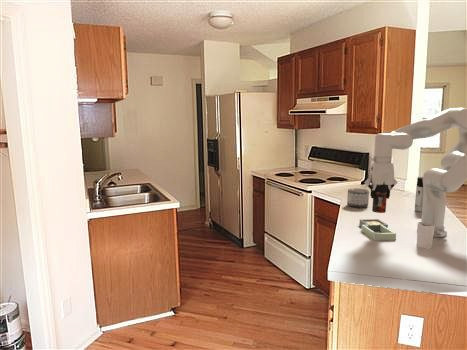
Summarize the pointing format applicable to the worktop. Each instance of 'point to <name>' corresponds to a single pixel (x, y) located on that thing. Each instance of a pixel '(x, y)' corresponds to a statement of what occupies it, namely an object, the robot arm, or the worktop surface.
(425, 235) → the white square cup
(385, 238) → the trough
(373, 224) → the cradle plate
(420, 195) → the spray can
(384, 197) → the deodorant
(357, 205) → the planter
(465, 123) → the robot arm
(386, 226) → the cradle housing
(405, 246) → the worktop surface
